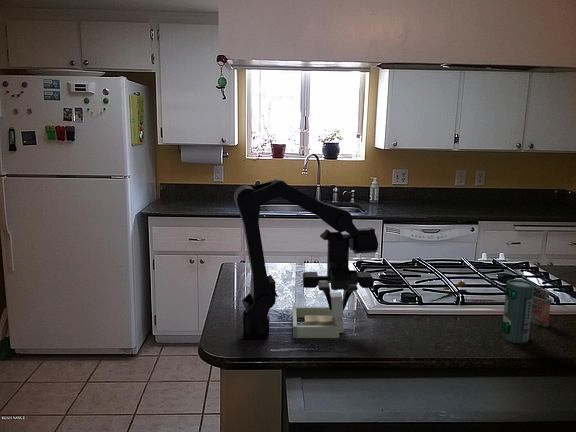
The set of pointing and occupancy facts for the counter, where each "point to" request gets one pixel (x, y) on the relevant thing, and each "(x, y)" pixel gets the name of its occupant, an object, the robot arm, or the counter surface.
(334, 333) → the green u-shaped frame
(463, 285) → the primitive tool
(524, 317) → the can
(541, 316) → the red printed box
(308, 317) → the chip
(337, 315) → the grey stepped block
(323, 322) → the chip
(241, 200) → the robot arm
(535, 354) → the counter surface
